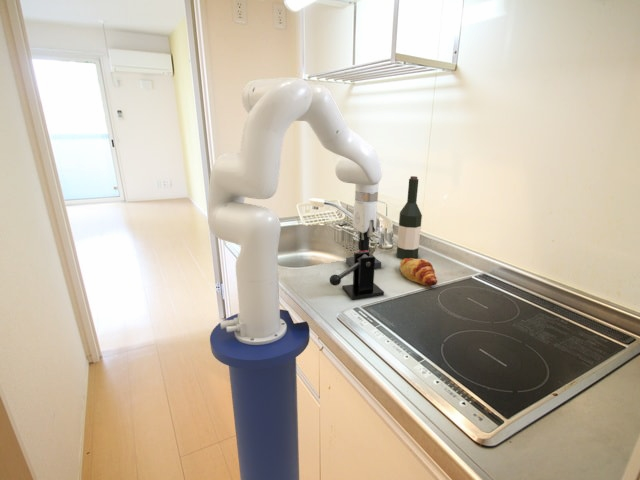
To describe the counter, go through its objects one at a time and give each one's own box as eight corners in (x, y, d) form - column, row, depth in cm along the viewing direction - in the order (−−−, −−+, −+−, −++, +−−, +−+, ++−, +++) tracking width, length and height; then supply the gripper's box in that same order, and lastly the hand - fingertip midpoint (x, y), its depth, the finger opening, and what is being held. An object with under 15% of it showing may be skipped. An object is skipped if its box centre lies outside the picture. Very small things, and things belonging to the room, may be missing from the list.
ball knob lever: (334, 289, 101) (329, 281, 100) (331, 285, 104) (326, 276, 103) (372, 264, 103) (368, 255, 102) (368, 260, 106) (363, 252, 104)
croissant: (394, 275, 129) (385, 258, 125) (417, 261, 130) (409, 242, 126) (426, 300, 110) (417, 280, 106) (452, 282, 111) (445, 262, 108)
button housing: (354, 271, 122) (354, 260, 121) (346, 263, 129) (346, 253, 128) (381, 268, 126) (381, 257, 125) (371, 260, 133) (371, 250, 132)
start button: (361, 258, 124) (361, 253, 124) (356, 255, 127) (357, 250, 127) (370, 257, 125) (370, 252, 125) (366, 254, 129) (366, 249, 128)
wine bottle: (420, 255, 140) (428, 176, 130) (414, 261, 133) (422, 179, 123) (399, 251, 143) (406, 174, 133) (393, 258, 136) (399, 177, 126)
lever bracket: (352, 300, 102) (353, 261, 98) (342, 289, 109) (343, 252, 105) (383, 295, 105) (386, 257, 101) (372, 285, 112) (374, 248, 108)
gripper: (347, 193, 124) (345, 244, 130) (365, 201, 111) (362, 257, 117) (367, 193, 127) (364, 243, 133) (386, 200, 114) (382, 255, 120)
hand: (363, 249), depth 125 cm, fingers closed
